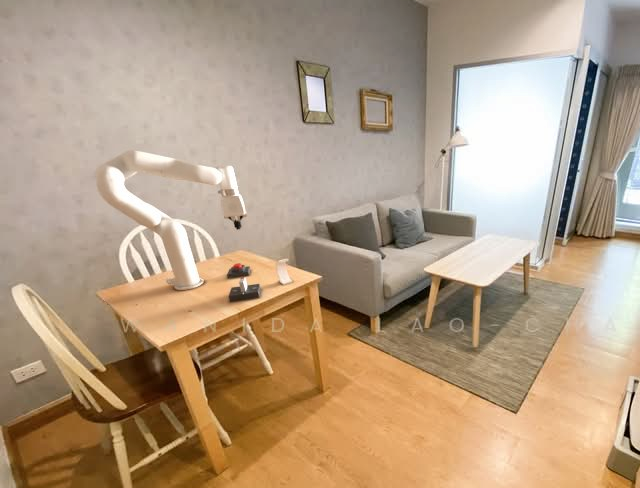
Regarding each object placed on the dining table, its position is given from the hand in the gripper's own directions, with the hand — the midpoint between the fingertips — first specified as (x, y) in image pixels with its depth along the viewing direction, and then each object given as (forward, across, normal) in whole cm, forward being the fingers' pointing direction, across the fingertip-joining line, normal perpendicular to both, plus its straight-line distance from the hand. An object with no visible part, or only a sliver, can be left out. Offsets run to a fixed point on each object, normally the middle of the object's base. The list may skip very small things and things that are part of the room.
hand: (238, 228), depth 169 cm
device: (+22, +3, -35) cm, 41 cm away
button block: (+22, -3, -7) cm, 23 cm away
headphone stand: (+22, +20, -25) cm, 39 cm away
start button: (+18, -3, -7) cm, 20 cm away
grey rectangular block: (+19, +3, -35) cm, 40 cm away
